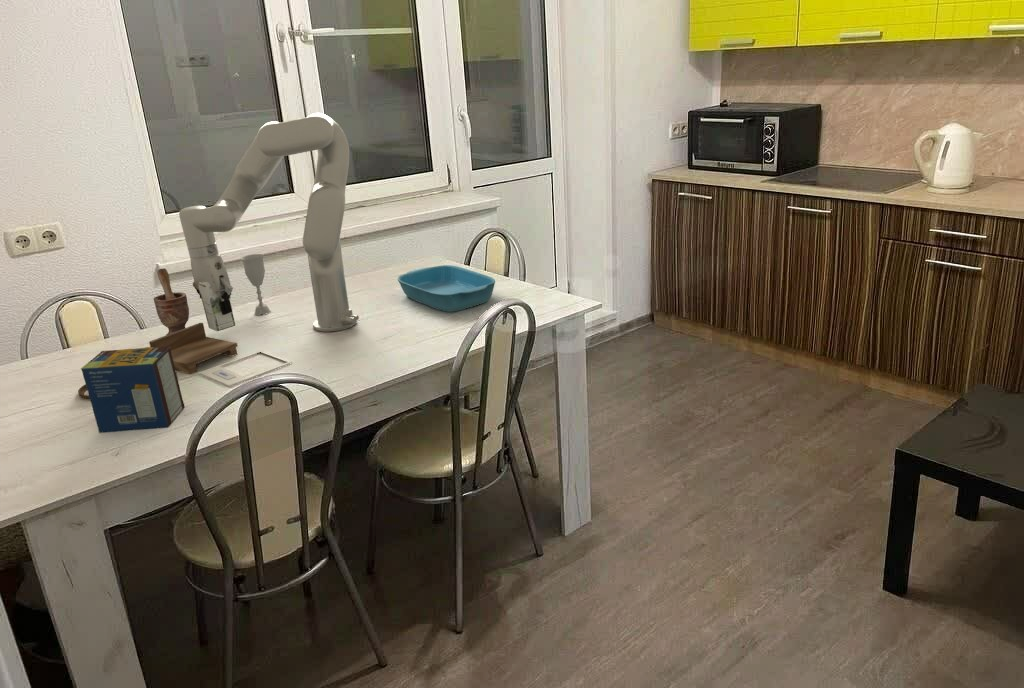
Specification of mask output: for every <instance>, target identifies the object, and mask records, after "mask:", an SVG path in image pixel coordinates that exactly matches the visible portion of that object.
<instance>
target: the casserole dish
mask: <svg viewBox="0 0 1024 688" xmlns="http://www.w3.org/2000/svg"><path fill="white" fill-rule="evenodd" d="M397 282H399V285H400V287H401V289H402V291H403V293H404V294H405V296H406V297H408V298H410V299H411V300H413V301H415V300H416V302H418V303H421V304H422V303H423V305H425V306H428V307H430V308H432V309H435V308H436V310H438V311H441V310H442V311H441V312H448V313H452V312H453V311H454V312H459V311H463V310H467V309H469V307H470V308H473V306H474V307H476V305H477V306H479V304H480V305H483V304H485V303H487V302H488V301H489V300H490V299H491V297H492V295H493V292H494V288H495V285H496V279H494V278H493V277H491V276H489V275H486V274H484V273H483V274H482V273H480V272H476V271H474V270H471V269H467V268H464V267H462V266H457V265H450V264H446V265H445V264H444V265H442V264H441V265H436V266H428V267H427V266H425V267H422V268H417V269H413V270H409V271H408V272H406V273H403V274H400V275H399V276H398V277H397ZM486 301H487V302H486ZM482 303H483V304H482ZM466 308H467V309H466ZM454 312H453V313H454Z"/></svg>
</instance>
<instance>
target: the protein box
mask: <svg viewBox="0 0 1024 688" xmlns="http://www.w3.org/2000/svg"><path fill="white" fill-rule="evenodd" d="M148 347H149V346H148ZM80 370H81V373H82V376H83V379H84V383H85V384H86V387H87V391H86V392H87V395H89V398H90V404H91V408H92V412H93V415H94V418H95V422H96V426H97V429H98V433H100V434H101V433H102V434H103V433H115V432H130V431H131V432H132V431H143V430H144V431H145V430H154V429H155V430H156V429H168V428H170V426H171V425H172V424H173V422H174V421H175V420H176V419H177V418H178V416H179V415H180V414H181V412H182V411H183V410H184V408H185V403H184V400H183V395H182V391H181V386H180V384H179V383H180V382H179V379H178V374H177V371H176V370H175V366H174V362H173V358H172V354H171V349H170V346H161V347H149V348H145V347H140V348H125V349H116V350H115V349H113V350H112V349H111V350H102V351H100V352H99V353H98V354H96V355H95V357H93V358H92V359H91V360H89V361H87V363H85V365H84V366H82V367H80Z"/></svg>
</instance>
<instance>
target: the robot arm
mask: <svg viewBox="0 0 1024 688" xmlns="http://www.w3.org/2000/svg"><path fill="white" fill-rule="evenodd" d="M349 145H350V144H349V141H348V138H347V136H346V133H345V132H344V130H343V128H342V127H341V126H340V125H339V123H337V122H336V121H335V120H334V119H333V118H331V117H330V116H328V114H327V115H326V114H324V113H321V112H315V113H311V114H310V115H308V116H307V117H301V118H296V119H291V120H287V121H282V122H279V121H269V122H266V123H265V124H264V125H262V126H261V127H260V128H259V130H258V132H257V134H256V136H255V138H254V139H253V141H252V142H251V144H250V146H249V147H248V148H247V150H246V151H245V153H244V155H243V156H242V158H241V159H240V161H239V162H238V163H237V166H236V167H235V170H234V173H233V176H232V178H231V180H230V182H229V183H228V185H227V186H226V188H225V190H224V191H223V193H222V194H221V195H220V197H219V199H218V200H217V202H216V203H215V204H214V205H212V206H209V207H206V206H204V205H192V206H187V207H184V208H181V209H180V210H179V213H178V214H179V215H178V216H179V221H180V225H181V227H182V232H183V235H184V239H185V243H186V247H187V251H188V255H189V257H190V259H189V260H190V267H191V273H192V278H193V283H192V287H193V288H194V289H195V290H196V293H197V294H198V295H199V299H201V300H202V298H201V294H200V291H199V281H202V282H207V283H209V284H210V286H211V288H212V291H213V292H216V294H217V296H218V297H219V299H220V302H219V304H220V308H221V312H222V315H226V314H228V313H230V312H233V308H232V304H231V303H232V302H231V295H232V292H233V289H234V287H233V286H232V285H231V281H230V276H229V274H228V271H227V267H226V265H225V263H224V259H223V258H222V256H221V254H219V250H218V245H217V242H216V238H215V233H227V232H230V231H232V230H233V229H235V227H236V226H237V224H238V223H239V221H240V220H241V218H242V217H243V215H244V213H245V212H246V211H247V210H248V208H249V206H250V205H251V204H252V201H253V200H254V199H255V197H256V196H257V194H258V193H259V192H260V191H261V190H263V188H264V186H265V185H266V184H267V182H268V181H269V180H270V178H271V176H272V175H273V174H274V172H275V170H276V169H277V167H278V166H279V164H280V163H281V161H282V160H283V158H284V157H287V156H292V155H297V154H302V153H307V152H312V151H317V161H316V162H317V163H316V166H315V167H316V170H315V176H314V182H313V186H312V190H311V192H310V193H309V194H310V195H309V197H308V202H307V209H306V216H305V224H304V228H303V229H304V230H303V236H302V247H303V248H304V250H305V253H306V254H307V259H308V261H307V262H308V268H309V274H310V281H311V287H312V294H313V301H314V306H315V312H316V313H315V314H316V318H317V319H316V320H314V321H313V323H312V329H314V330H315V331H318V332H324V333H325V332H326V333H327V332H330V333H331V332H337V331H344V330H346V329H349V328H352V327H353V326H355V325H356V324H357V321H358V320H359V318H360V317H359V315H356V314H354V313H353V310H352V308H350V306H349V305H350V304H349V298H348V292H347V291H348V290H347V285H346V284H347V283H346V277H345V268H344V263H343V262H344V261H343V253H342V245H341V243H342V242H341V234H342V233H341V231H342V226H343V221H344V216H345V209H346V189H347V188H346V186H347V181H348V175H349V174H348V172H349V165H350V146H349ZM221 286H223V289H221V290H220V287H221ZM223 291H224V293H223V296H222V294H221V292H223Z"/></svg>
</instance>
